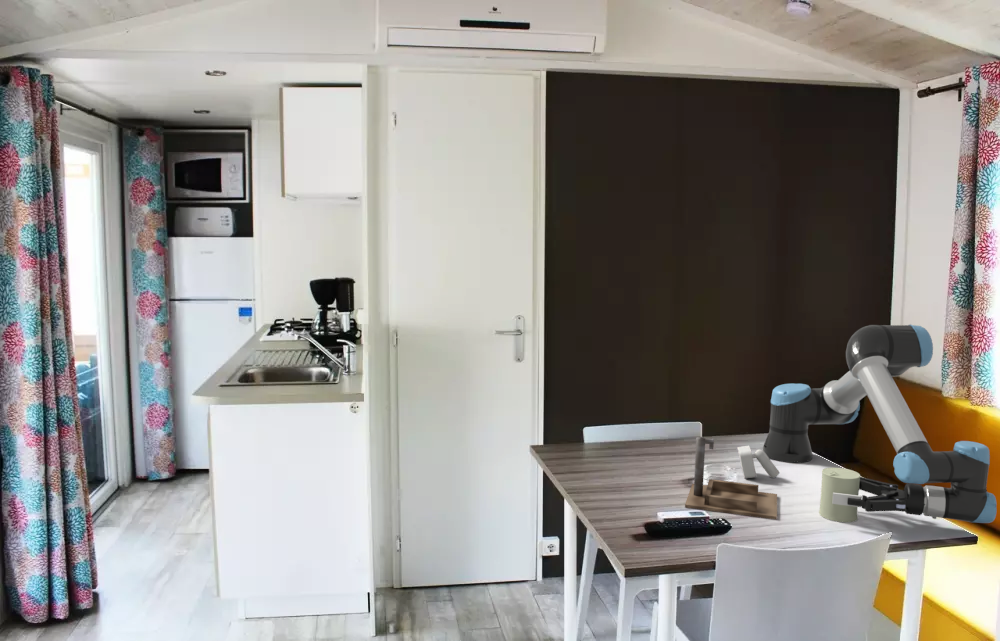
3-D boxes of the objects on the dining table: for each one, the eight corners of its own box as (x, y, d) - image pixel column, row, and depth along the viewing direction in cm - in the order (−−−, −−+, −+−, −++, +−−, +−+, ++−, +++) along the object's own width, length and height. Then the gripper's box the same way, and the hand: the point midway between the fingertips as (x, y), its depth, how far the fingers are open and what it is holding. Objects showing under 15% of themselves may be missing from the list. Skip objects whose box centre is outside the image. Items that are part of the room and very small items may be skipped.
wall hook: (782, 480, 226) (775, 447, 226) (746, 486, 229) (739, 453, 228) (778, 472, 234) (771, 440, 233) (743, 477, 236) (737, 446, 236)
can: (811, 512, 203) (813, 467, 202) (837, 507, 207) (840, 464, 205) (838, 524, 195) (842, 478, 193) (865, 519, 199) (869, 474, 197)
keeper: (776, 496, 214) (780, 437, 212) (776, 519, 198) (780, 455, 195) (692, 486, 222) (694, 429, 220) (684, 507, 205) (687, 445, 203)
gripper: (930, 533, 182) (833, 520, 189) (913, 498, 206) (827, 488, 213) (933, 502, 181) (835, 490, 188) (915, 471, 205) (828, 461, 212)
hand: (830, 489), depth 201 cm, fingers open, 13 cm apart
